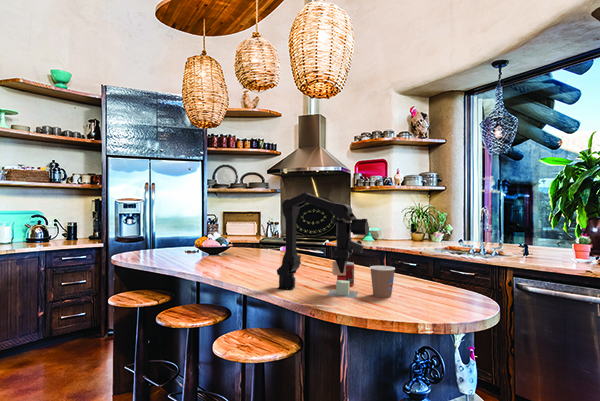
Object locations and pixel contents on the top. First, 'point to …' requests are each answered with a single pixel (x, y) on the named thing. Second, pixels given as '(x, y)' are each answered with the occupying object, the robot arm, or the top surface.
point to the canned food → (348, 274)
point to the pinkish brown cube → (337, 269)
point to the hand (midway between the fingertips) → (342, 271)
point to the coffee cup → (382, 280)
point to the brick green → (342, 287)
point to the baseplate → (351, 295)
